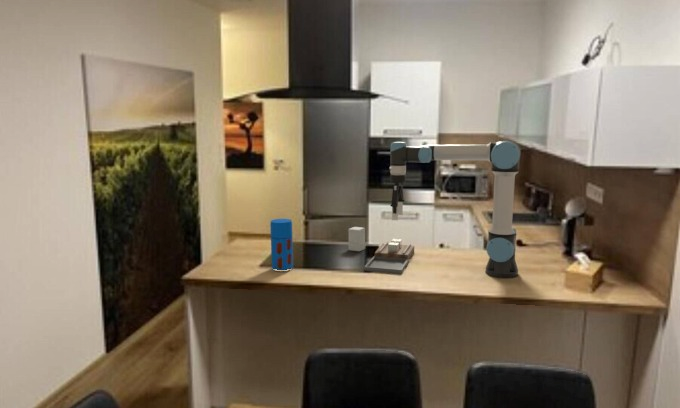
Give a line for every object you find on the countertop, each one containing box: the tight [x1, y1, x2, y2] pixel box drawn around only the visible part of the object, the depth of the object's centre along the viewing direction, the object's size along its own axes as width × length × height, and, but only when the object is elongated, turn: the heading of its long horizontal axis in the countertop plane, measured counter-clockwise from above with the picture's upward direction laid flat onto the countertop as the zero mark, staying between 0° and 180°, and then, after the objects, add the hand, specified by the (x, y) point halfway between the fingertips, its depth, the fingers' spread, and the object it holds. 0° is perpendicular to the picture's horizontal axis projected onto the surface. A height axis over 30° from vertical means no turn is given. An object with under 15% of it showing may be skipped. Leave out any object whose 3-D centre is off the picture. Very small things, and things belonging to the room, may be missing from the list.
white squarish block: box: [390, 238, 403, 249], centre depth 279 cm, size 5×5×4 cm
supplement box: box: [348, 226, 366, 252], centre depth 290 cm, size 7×7×13 cm
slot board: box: [374, 241, 415, 261], centre depth 276 cm, size 18×20×5 cm
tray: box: [363, 255, 410, 275], centre depth 257 cm, size 19×20×2 cm
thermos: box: [269, 218, 294, 270], centre depth 252 cm, size 11×11×25 cm
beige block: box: [388, 241, 399, 252], centre depth 271 cm, size 5×5×4 cm
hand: (397, 217), depth 246 cm, fingers open, 13 cm apart
